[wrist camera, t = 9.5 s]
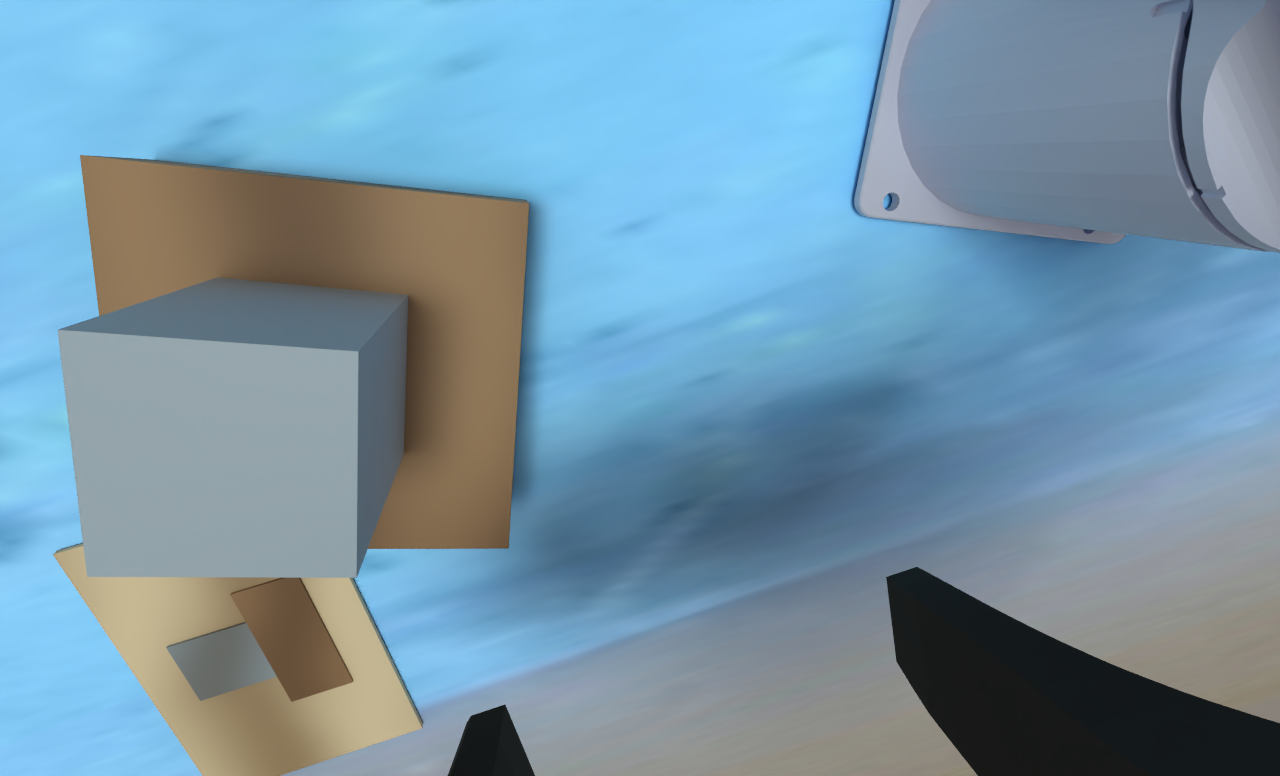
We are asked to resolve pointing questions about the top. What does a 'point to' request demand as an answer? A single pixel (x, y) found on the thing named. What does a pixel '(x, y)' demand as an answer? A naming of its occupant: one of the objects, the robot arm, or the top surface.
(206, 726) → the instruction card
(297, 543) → the gray brick
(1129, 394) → the top surface
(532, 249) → the top surface
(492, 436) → the walnut slab
